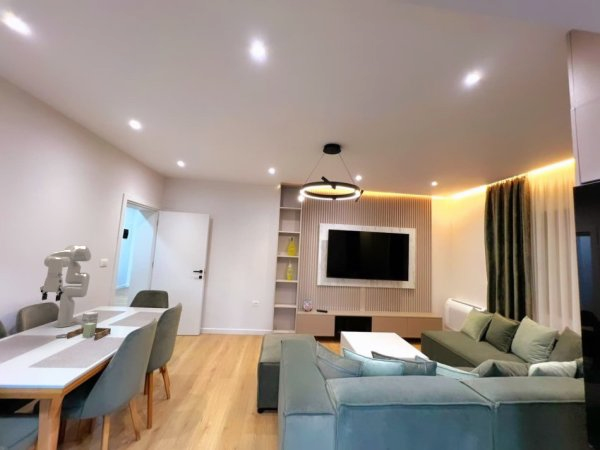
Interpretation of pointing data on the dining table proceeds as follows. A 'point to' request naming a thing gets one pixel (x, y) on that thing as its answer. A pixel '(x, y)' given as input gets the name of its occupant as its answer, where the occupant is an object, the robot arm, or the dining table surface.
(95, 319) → the supplement box
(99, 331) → the wooden u-shaped frame
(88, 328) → the sage block
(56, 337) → the slate coaster
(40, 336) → the dining table surface
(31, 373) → the dining table surface
